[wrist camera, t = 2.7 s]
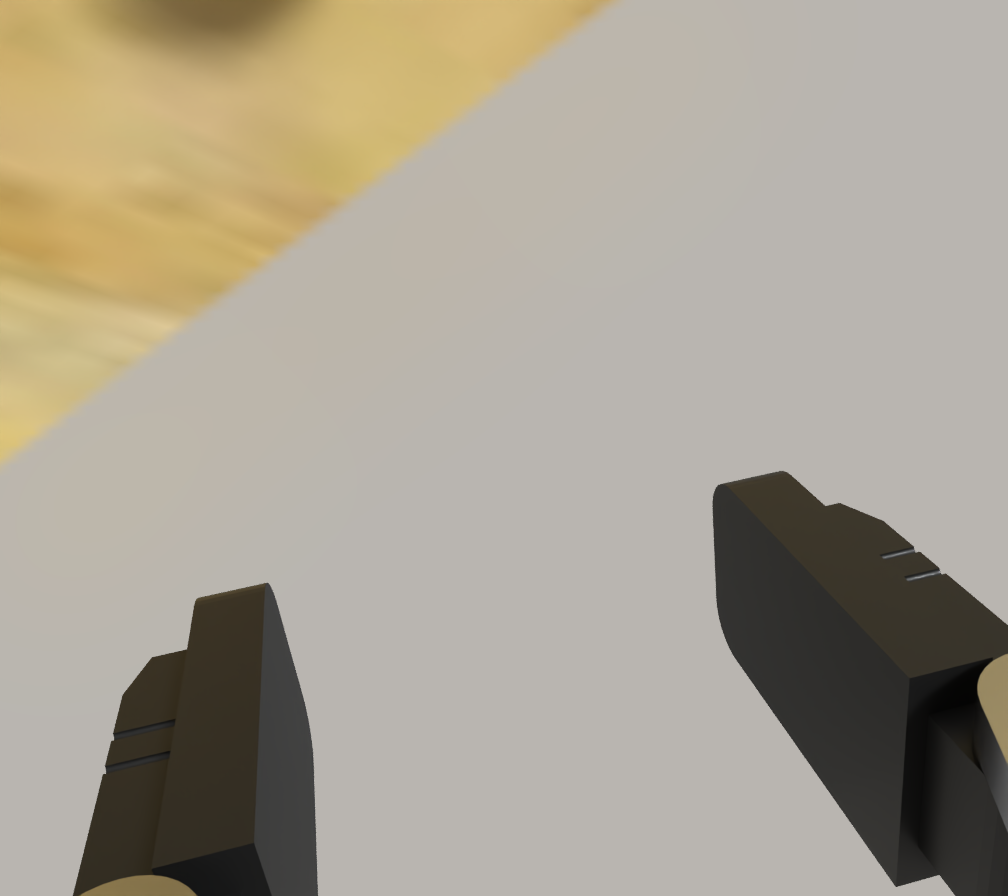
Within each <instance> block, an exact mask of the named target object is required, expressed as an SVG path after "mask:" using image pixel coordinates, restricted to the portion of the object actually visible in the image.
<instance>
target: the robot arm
mask: <svg viewBox="0 0 1008 896" xmlns="http://www.w3.org/2000/svg"><path fill="white" fill-rule="evenodd" d="M713 527H714V551H715V573H716V598H717V608H718V615H719V619H720V623H721V627H722V630H723V633H724V636H725V639H726V641H727V644H728V646H729V648H730V650H731V652H732V654H733V656H734V657H735V659H736V660H737V662H738V663H739V664H740V666H741V667H742V669H743V670H744V671H745V673H746V674H747V676H748V677H749V679H750V680H751V681H752V683H753V684H754V686H755V687H756V689H757V690H758V691H759V693H760V694H761V696H762V697H763V699H764V700H765V701H766V703H767V704H768V706H769V707H770V709H771V710H772V711H773V713H774V714H775V716H776V717H777V718H778V720H779V721H780V723H781V724H782V726H783V727H784V728H785V730H786V731H787V733H788V734H789V736H790V737H791V738H792V739H793V741H794V742H795V744H796V745H797V747H798V748H799V750H800V751H801V753H802V754H803V755H804V757H805V758H806V759H807V761H808V762H809V764H810V765H811V767H812V768H813V770H814V771H815V772H816V774H817V775H818V777H819V778H820V779H821V781H822V782H823V784H824V785H825V786H826V788H827V790H828V791H829V792H830V794H831V795H832V796H833V798H834V799H835V801H836V802H837V804H838V805H839V807H840V808H841V810H842V811H843V812H844V814H845V815H846V817H847V818H848V819H849V821H850V822H851V824H852V825H853V827H854V828H855V829H856V831H857V832H858V834H859V835H860V837H861V838H862V839H863V841H864V842H865V844H866V845H867V847H868V848H869V849H870V851H871V852H872V854H873V855H874V856H875V858H876V859H877V861H878V862H879V864H880V865H881V866H882V868H883V869H884V871H885V872H886V874H887V875H888V876H889V878H890V879H891V881H892V882H893V883H894V885H895V886H896V887H898V886H901V885H905V884H908V883H912V882H915V881H919V880H922V879H926V878H929V877H933V876H937V875H940V876H941V877H942V879H943V880H944V881H945V883H946V884H947V885H948V887H949V888H950V889H951V891H952V892H953V893H954V895H955V896H1008V625H1007V624H1006V623H1004V622H1003V621H1002V620H1001V619H1000V618H998V617H997V616H996V615H995V614H993V613H992V612H991V611H990V610H989V609H988V608H986V607H985V606H984V605H983V604H982V603H980V602H979V601H978V600H977V599H976V598H975V597H973V596H972V595H971V594H970V593H969V592H967V591H966V590H965V589H964V588H963V587H961V586H960V585H959V584H958V583H957V582H955V581H954V580H953V579H952V578H951V577H949V576H948V575H947V574H943V575H942V574H941V573H940V570H939V567H937V566H936V565H935V564H934V563H933V562H931V561H930V560H929V559H928V558H927V557H925V556H924V555H923V554H922V553H921V552H917V553H915V550H914V546H912V545H911V544H910V543H909V542H908V541H906V540H905V539H904V538H903V537H902V536H900V535H899V534H898V533H897V532H896V531H895V530H893V529H892V528H891V527H890V526H889V525H887V524H886V523H885V522H884V521H882V520H879V519H877V518H875V517H872V516H870V515H867V514H865V513H863V512H860V511H858V510H855V509H853V508H850V507H848V506H846V505H843V504H841V503H838V504H834V505H829V506H825V505H823V504H822V503H821V502H820V501H819V500H818V499H817V498H816V497H815V496H813V495H812V494H811V493H810V492H809V491H808V490H807V489H806V488H805V487H803V486H802V485H801V484H800V483H799V482H798V481H797V480H796V479H794V478H793V477H792V476H791V475H790V474H788V473H787V472H784V471H779V472H775V473H770V474H765V475H761V476H756V477H751V478H747V479H742V480H738V481H733V482H729V483H724V484H720V485H718V486H717V487H716V489H715V492H714V496H713ZM113 734H114V741H111V744H110V748H109V753H108V756H107V761H106V765H105V767H106V774H103V776H102V781H101V785H100V789H99V793H98V797H97V801H96V805H95V809H94V813H93V817H92V821H91V825H90V829H89V833H88V837H87V841H86V845H85V849H84V854H83V857H82V862H81V865H80V869H79V873H78V877H77V881H76V886H75V889H74V893H73V896H318V885H317V857H316V856H317V855H316V827H315V826H316V824H315V797H314V796H315V795H314V765H313V764H314V763H313V748H312V740H311V733H310V728H309V721H308V716H307V712H306V707H305V702H304V699H303V695H302V692H301V688H300V684H299V681H298V677H297V673H296V670H295V666H294V663H293V659H292V656H291V652H290V649H289V645H288V642H287V638H286V634H285V631H284V627H283V624H282V620H281V616H280V613H279V609H278V606H277V602H276V599H275V596H274V593H273V591H272V589H271V586H270V585H269V583H264V584H260V585H256V586H250V587H246V588H241V589H237V590H232V591H228V592H223V593H219V594H214V595H210V596H205V597H201V598H198V599H196V601H195V605H194V610H193V617H192V623H191V630H190V636H189V641H188V648H187V650H183V651H178V652H174V653H169V654H165V655H161V656H156V657H152V658H151V659H150V661H149V662H148V663H147V664H146V666H145V667H144V668H143V670H142V671H141V672H140V674H139V675H138V676H137V678H136V679H135V680H134V681H133V683H132V684H131V685H130V686H129V688H128V689H127V690H126V691H125V693H124V694H123V696H122V700H121V704H120V708H119V712H118V716H117V720H116V724H115V729H114V733H113Z"/></svg>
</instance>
